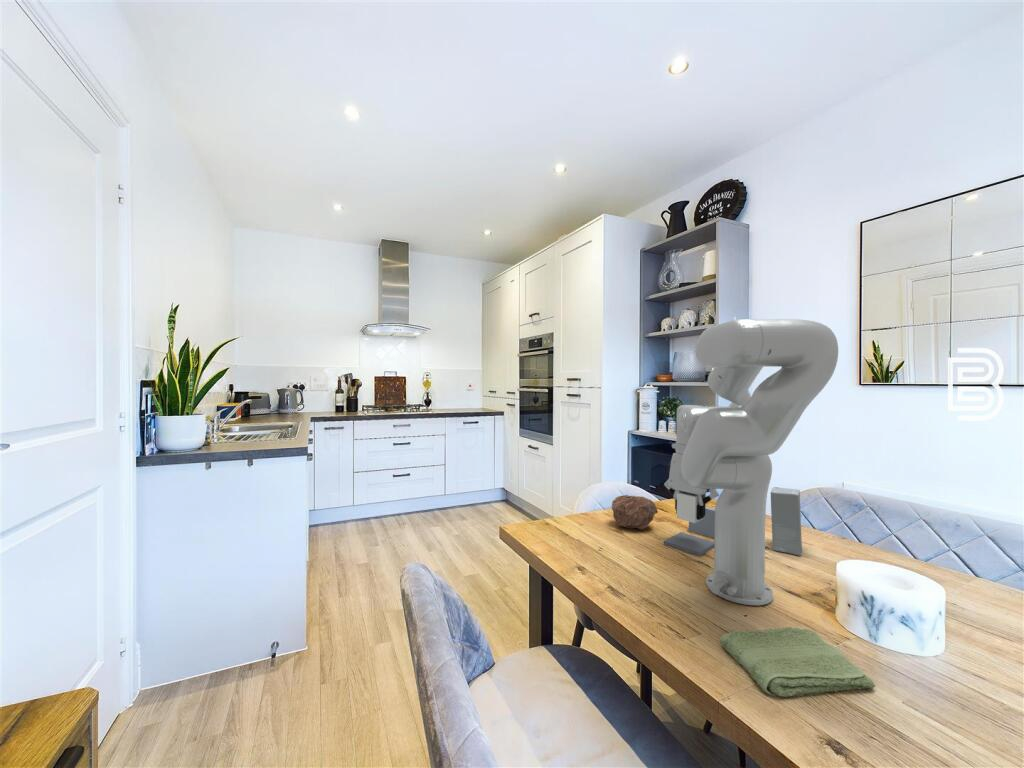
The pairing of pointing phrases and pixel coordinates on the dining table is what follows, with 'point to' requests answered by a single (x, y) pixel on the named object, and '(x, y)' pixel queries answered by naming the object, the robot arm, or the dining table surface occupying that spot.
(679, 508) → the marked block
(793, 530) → the skincare box
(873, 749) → the dining table surface
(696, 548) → the mat
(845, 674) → the washcloth
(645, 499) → the decorative rock
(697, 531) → the screen
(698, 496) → the robot arm
